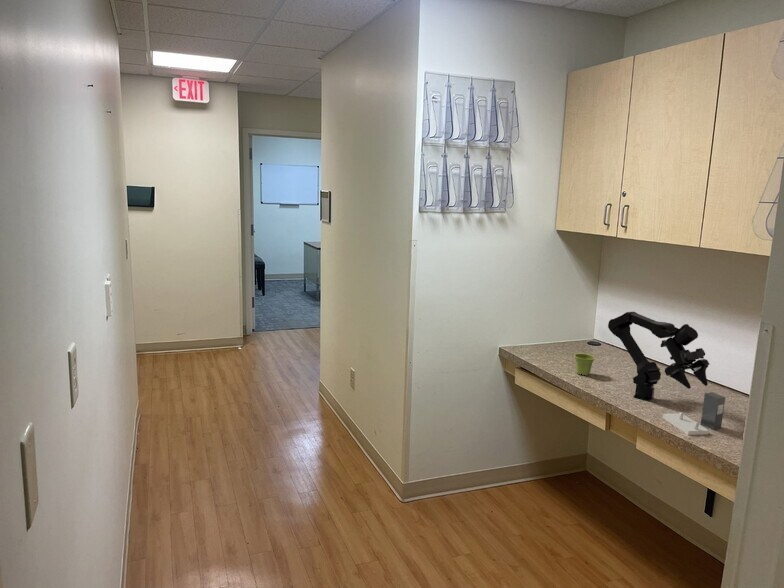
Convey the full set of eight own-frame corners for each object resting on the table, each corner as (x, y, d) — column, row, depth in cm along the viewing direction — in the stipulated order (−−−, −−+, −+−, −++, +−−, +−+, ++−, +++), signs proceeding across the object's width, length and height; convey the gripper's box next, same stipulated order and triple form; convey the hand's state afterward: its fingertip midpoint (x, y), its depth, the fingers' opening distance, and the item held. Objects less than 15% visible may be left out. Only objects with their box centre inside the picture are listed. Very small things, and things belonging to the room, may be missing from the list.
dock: (662, 417, 225) (663, 407, 224) (681, 416, 226) (682, 407, 225) (687, 434, 209) (689, 424, 208) (708, 434, 210) (709, 424, 209)
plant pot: (585, 370, 281) (587, 353, 279) (597, 376, 272) (599, 358, 271) (568, 371, 279) (570, 353, 277) (579, 377, 270) (581, 359, 268)
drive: (700, 424, 219) (704, 393, 217) (707, 423, 220) (712, 392, 218) (713, 430, 214) (718, 398, 212) (721, 428, 215) (725, 397, 213)
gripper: (674, 343, 219) (696, 380, 211) (708, 339, 227) (730, 374, 219) (655, 357, 228) (675, 393, 220) (688, 353, 235) (709, 387, 227)
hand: (698, 386), depth 221 cm, fingers open, 9 cm apart
